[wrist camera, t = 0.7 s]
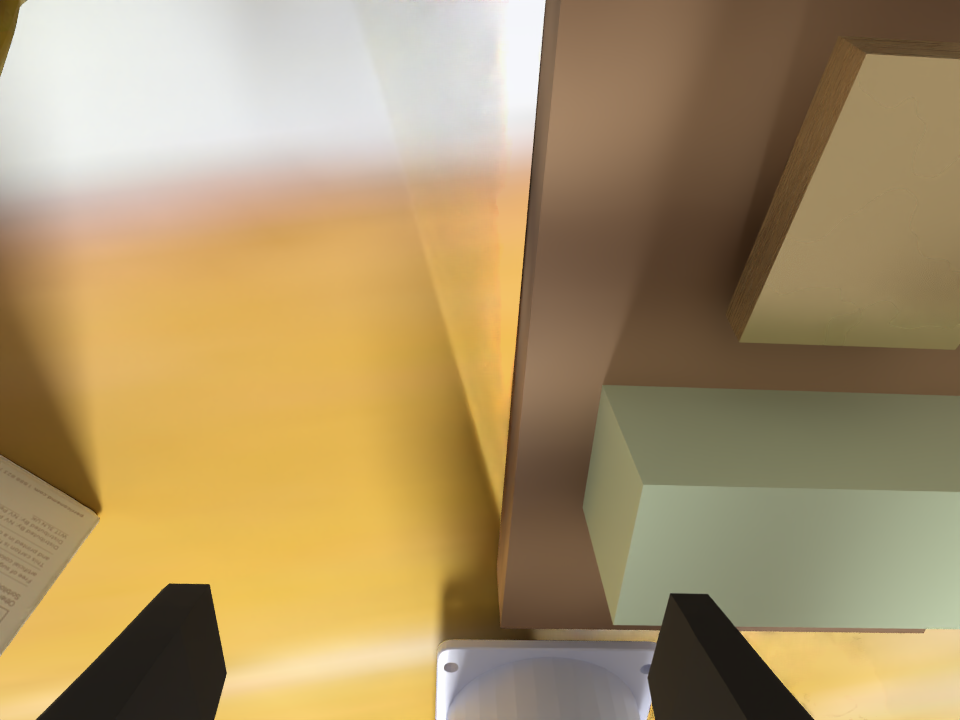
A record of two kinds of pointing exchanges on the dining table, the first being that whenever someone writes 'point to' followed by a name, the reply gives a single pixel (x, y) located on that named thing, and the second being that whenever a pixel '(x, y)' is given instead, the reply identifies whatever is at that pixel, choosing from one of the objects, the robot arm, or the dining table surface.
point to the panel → (663, 248)
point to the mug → (7, 26)
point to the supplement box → (34, 542)
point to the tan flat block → (865, 208)
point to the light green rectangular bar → (778, 505)
